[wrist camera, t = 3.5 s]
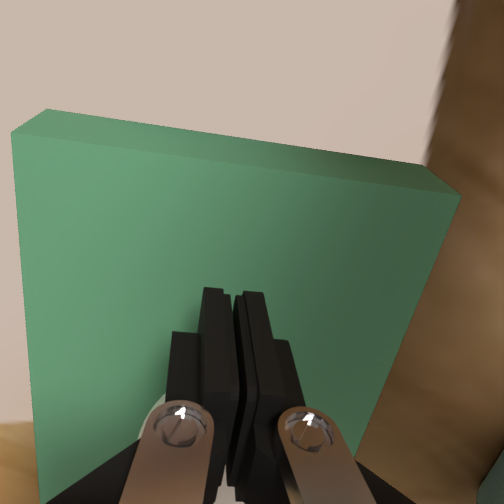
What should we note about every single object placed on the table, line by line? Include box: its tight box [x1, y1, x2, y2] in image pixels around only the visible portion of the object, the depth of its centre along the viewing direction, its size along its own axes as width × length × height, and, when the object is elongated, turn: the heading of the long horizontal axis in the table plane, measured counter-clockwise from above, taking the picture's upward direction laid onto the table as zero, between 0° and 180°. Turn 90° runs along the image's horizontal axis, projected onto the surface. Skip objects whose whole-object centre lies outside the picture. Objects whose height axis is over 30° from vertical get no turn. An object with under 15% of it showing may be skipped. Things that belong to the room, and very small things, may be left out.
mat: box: [11, 109, 462, 504], centre depth 20 cm, size 28×13×5 cm, turn 170°
